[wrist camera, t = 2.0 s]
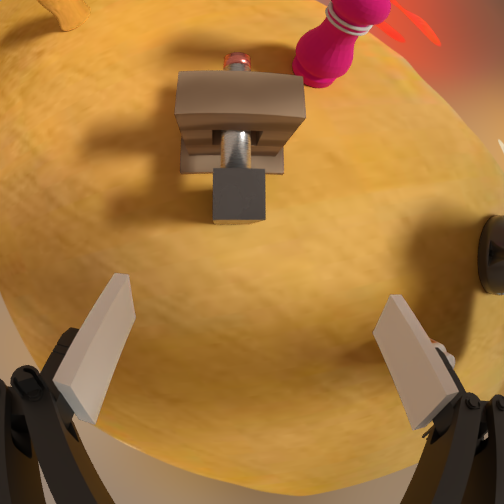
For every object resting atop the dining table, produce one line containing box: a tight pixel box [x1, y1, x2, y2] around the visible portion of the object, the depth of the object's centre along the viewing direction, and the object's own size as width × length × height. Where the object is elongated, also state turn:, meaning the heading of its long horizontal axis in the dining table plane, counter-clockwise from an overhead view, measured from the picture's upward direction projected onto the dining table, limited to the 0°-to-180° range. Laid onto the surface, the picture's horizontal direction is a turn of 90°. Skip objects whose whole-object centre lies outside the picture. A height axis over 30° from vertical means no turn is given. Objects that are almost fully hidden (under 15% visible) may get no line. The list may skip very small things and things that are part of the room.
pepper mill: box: [292, 0, 391, 88], centre depth 23 cm, size 7×7×20 cm
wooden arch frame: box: [175, 71, 306, 175], centre depth 26 cm, size 8×12×13 cm, turn 90°
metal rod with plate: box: [213, 52, 265, 224], centre depth 26 cm, size 18×4×11 cm, turn 0°
